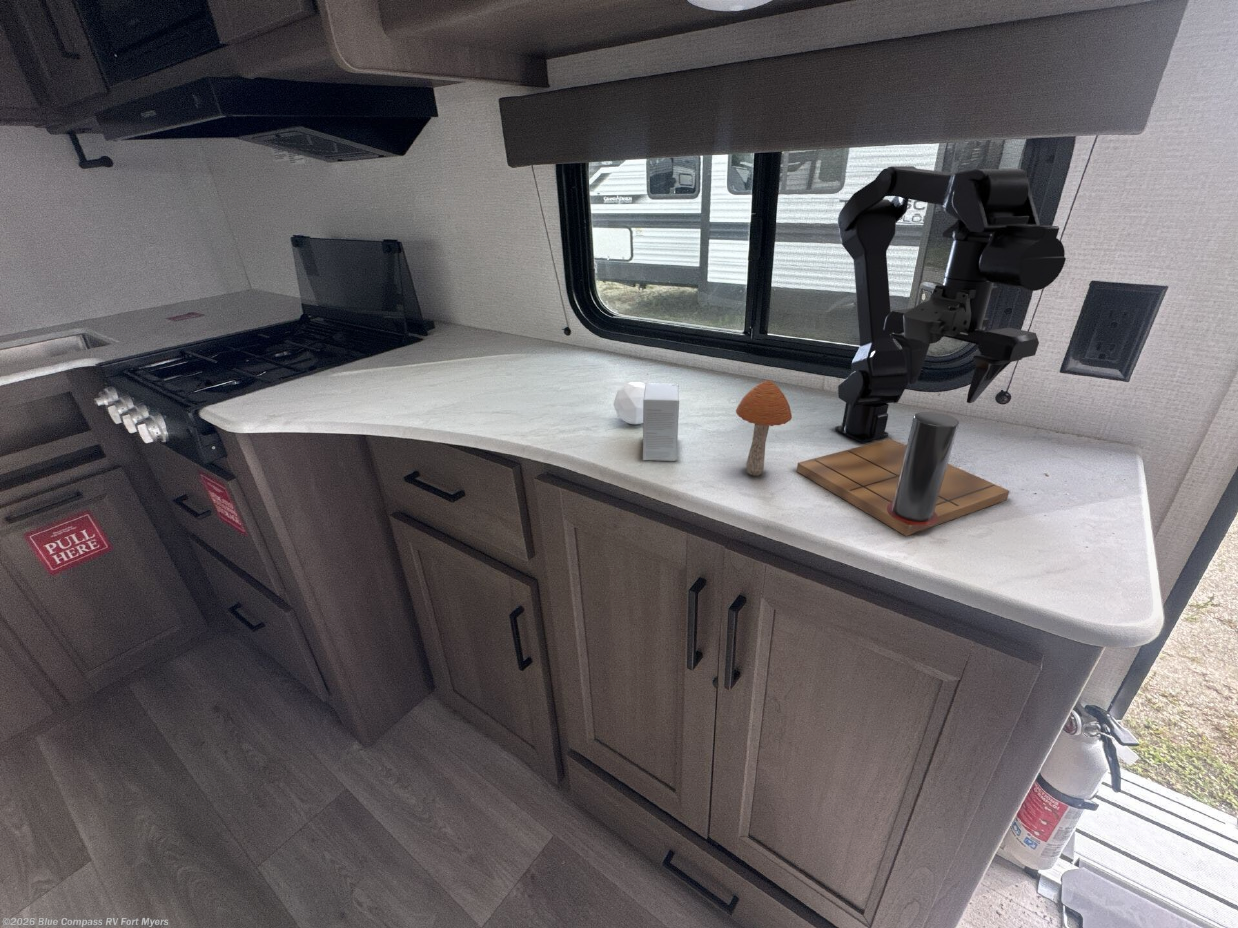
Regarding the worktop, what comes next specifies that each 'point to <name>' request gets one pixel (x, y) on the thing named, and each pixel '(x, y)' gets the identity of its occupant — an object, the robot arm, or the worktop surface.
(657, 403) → the small box
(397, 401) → the worktop surface
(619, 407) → the geometric ball
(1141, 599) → the worktop surface
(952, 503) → the board
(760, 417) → the mushroom
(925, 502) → the black cylinder
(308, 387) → the worktop surface
